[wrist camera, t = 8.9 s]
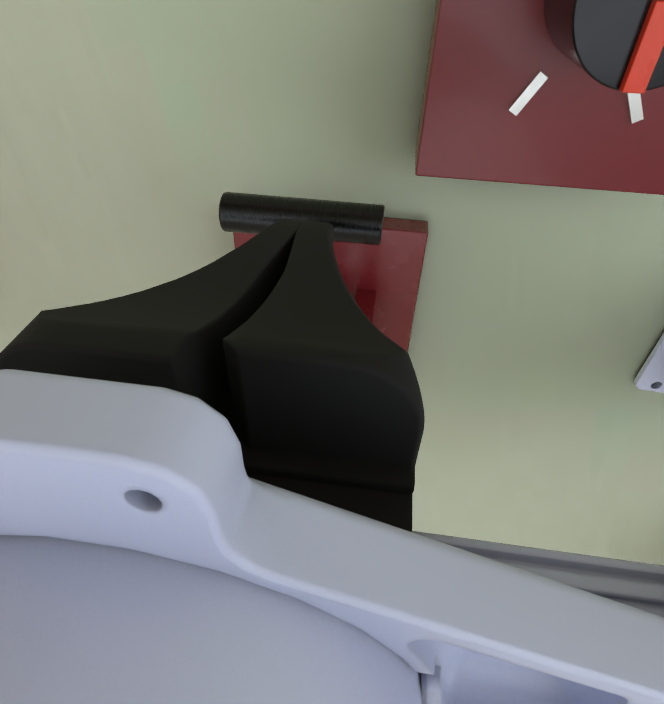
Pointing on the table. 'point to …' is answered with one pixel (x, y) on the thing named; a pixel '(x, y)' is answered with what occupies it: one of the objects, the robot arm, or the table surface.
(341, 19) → the table surface
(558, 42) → the knob
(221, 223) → the toaster lever
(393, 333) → the red lever base
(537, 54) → the panel
